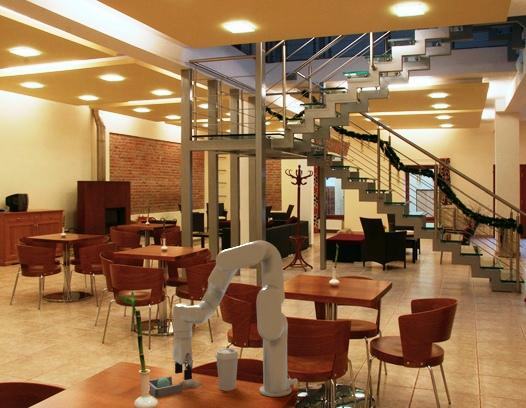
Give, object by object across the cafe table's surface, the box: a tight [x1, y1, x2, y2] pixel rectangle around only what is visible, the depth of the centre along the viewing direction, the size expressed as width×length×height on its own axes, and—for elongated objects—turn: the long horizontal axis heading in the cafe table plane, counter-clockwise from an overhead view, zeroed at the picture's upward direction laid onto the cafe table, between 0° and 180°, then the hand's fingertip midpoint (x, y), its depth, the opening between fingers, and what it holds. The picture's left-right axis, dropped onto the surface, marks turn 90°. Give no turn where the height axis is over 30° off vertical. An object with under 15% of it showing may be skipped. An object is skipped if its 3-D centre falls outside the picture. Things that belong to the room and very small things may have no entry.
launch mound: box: [179, 378, 203, 390], centre depth 223 cm, size 14×14×14 cm
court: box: [148, 375, 183, 398], centre depth 217 cm, size 11×12×3 cm
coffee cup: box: [214, 347, 240, 392], centre depth 218 cm, size 10×10×15 cm
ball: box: [156, 377, 171, 388], centre depth 216 cm, size 5×5×5 cm
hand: (183, 376), depth 221 cm, fingers open, 9 cm apart
